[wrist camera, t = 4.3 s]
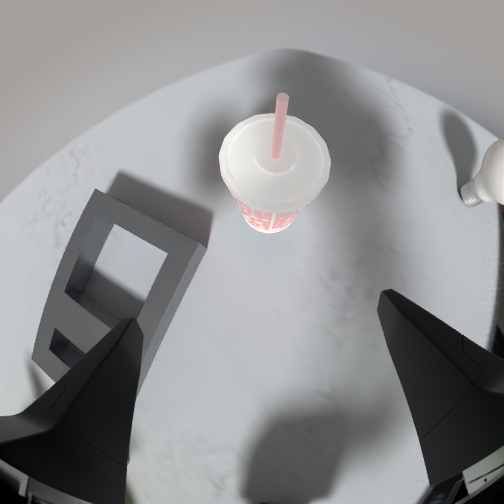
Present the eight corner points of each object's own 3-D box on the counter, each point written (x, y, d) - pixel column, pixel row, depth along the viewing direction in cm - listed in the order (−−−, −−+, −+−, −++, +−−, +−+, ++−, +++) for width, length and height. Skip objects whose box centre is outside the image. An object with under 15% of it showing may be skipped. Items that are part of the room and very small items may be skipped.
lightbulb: (488, 210, 22) (551, 181, 12) (464, 234, 22) (538, 208, 11) (463, 163, 23) (520, 122, 12) (436, 183, 23) (502, 136, 12)
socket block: (128, 417, 20) (114, 429, 17) (49, 354, 21) (31, 358, 18) (207, 248, 22) (199, 242, 19) (110, 199, 23) (95, 188, 20)
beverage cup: (304, 176, 23) (348, 59, 9) (304, 244, 22) (370, 174, 8) (235, 172, 23) (212, 50, 9) (230, 241, 22) (190, 164, 9)
